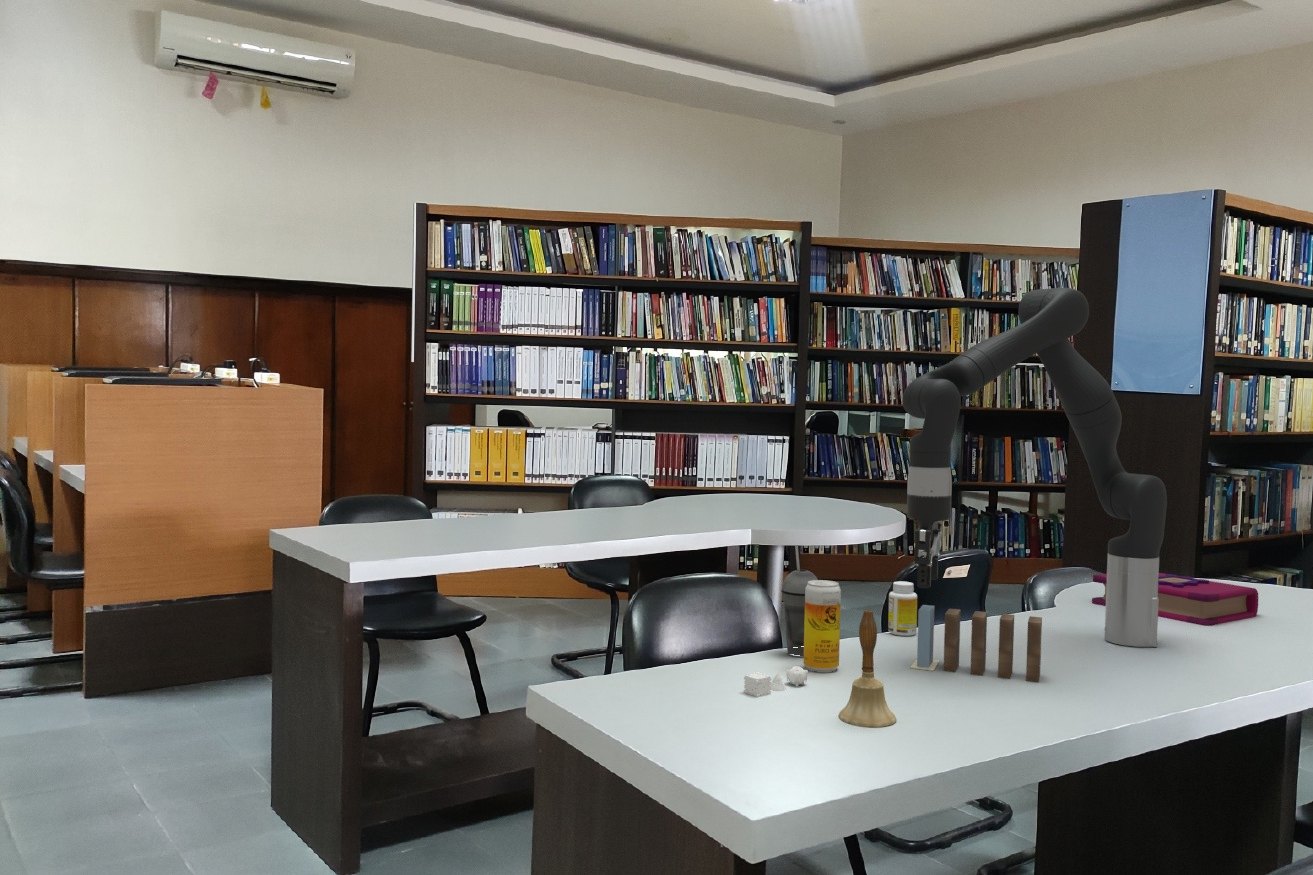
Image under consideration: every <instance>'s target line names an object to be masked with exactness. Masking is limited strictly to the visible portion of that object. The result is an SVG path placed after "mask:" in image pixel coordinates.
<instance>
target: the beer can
mask: <svg viewBox="0 0 1313 875" xmlns="http://www.w3.org/2000/svg"><path fill="white" fill-rule="evenodd" d="M839 584H840V583H839V582H838V581H837V582H836V581H833V580H827V579H826V580H825V579H824V580H823V579H818V580H813V581H809V582H808V584H807V586H806V588H805V621H804V657H803V664H804V666H805V668H806V670H808V671H810V672H814V671H817V672H816V673H832V671H833V672H835V671H836V670H837V668H838V667H839V666H840V635H841V601H842V600H841V598H842V596H841V595H842V590H841V587H840V585H839Z"/></svg>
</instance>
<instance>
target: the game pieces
mask: <svg viewBox="0 0 1313 875" xmlns="http://www.w3.org/2000/svg"><path fill="white" fill-rule="evenodd" d="M808 674H809V670H808V669H803V668H802V666H797V665H795V666H794V665H793V666H792V667H791V668H790V669H788V668H786V669H785V675H786V676H785V677H786V681H787V682H789V685H794V686H795V687H799V686H800V685H802V686H804V685H805V682H808ZM743 680H744V681H743V683H744V686H743V687H744V689H743V693H745V694H747V695H750V696H754V697H755V698H759V697H763V696H770V695H771V694H772V692H785V691H786V690H787V687H786V685H785V683H784V681H783V678H782V676H781V675H780V674H779V673H778V672H777V673H776V674H775V675H774V677H773V679H772V677H771V676H770V674H769V675H767V674H764V673H761V672H759V671H758V672H757V671H755V672H754V673H749V674H745V675H744V677H743Z"/></svg>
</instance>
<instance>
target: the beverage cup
mask: <svg viewBox="0 0 1313 875" xmlns="http://www.w3.org/2000/svg"><path fill="white" fill-rule="evenodd" d="M794 547H795V548H794V549H795V560H796V569H795V570H793V571H791V572H790V573H789V574H787V575H786V577H785V578H784V580H783V583H782V587H781V588H782V589H781V593H782V601H783V603H784V604H783V606H784V607H783V608H784V622H785V626H784V627H785V640H786V643H785V644H786V648H787V650H786V651H787V655H788V654H794V655H800V656H804V647H801V646H804V621H805V588H806V586H807V584H808V582H809V581H813V580H819V579H818V577H817V576H816V575H815V574H814V573H813V572H812V571H809V570H808V569H801V568H800V558H799V556H800V555H799V546H798V544H795V545H794ZM793 647H798V648H793Z"/></svg>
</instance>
